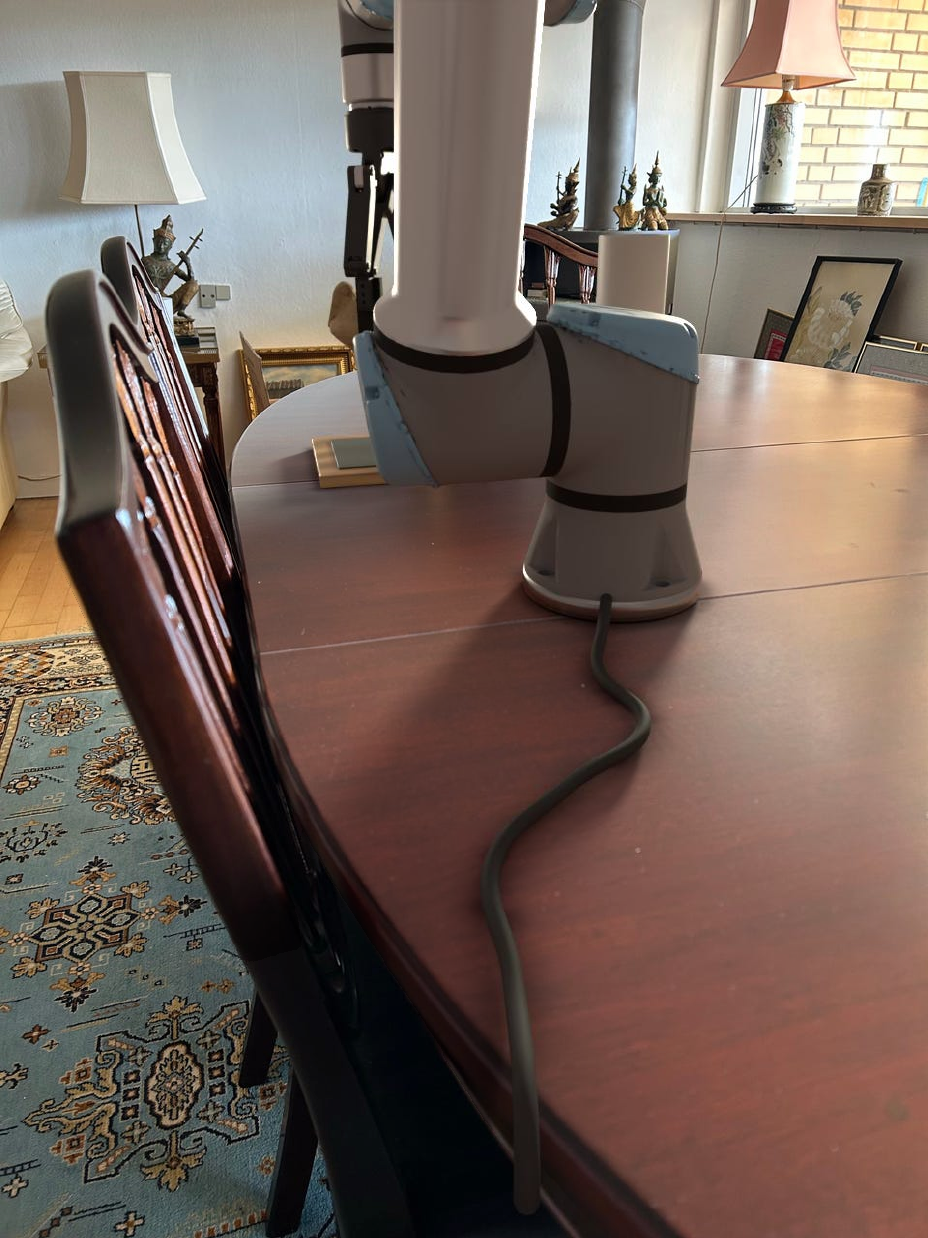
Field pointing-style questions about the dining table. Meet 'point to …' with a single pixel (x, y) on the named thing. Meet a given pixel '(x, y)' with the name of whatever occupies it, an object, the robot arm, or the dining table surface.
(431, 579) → the dining table surface
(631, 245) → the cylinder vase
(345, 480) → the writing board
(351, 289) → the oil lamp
